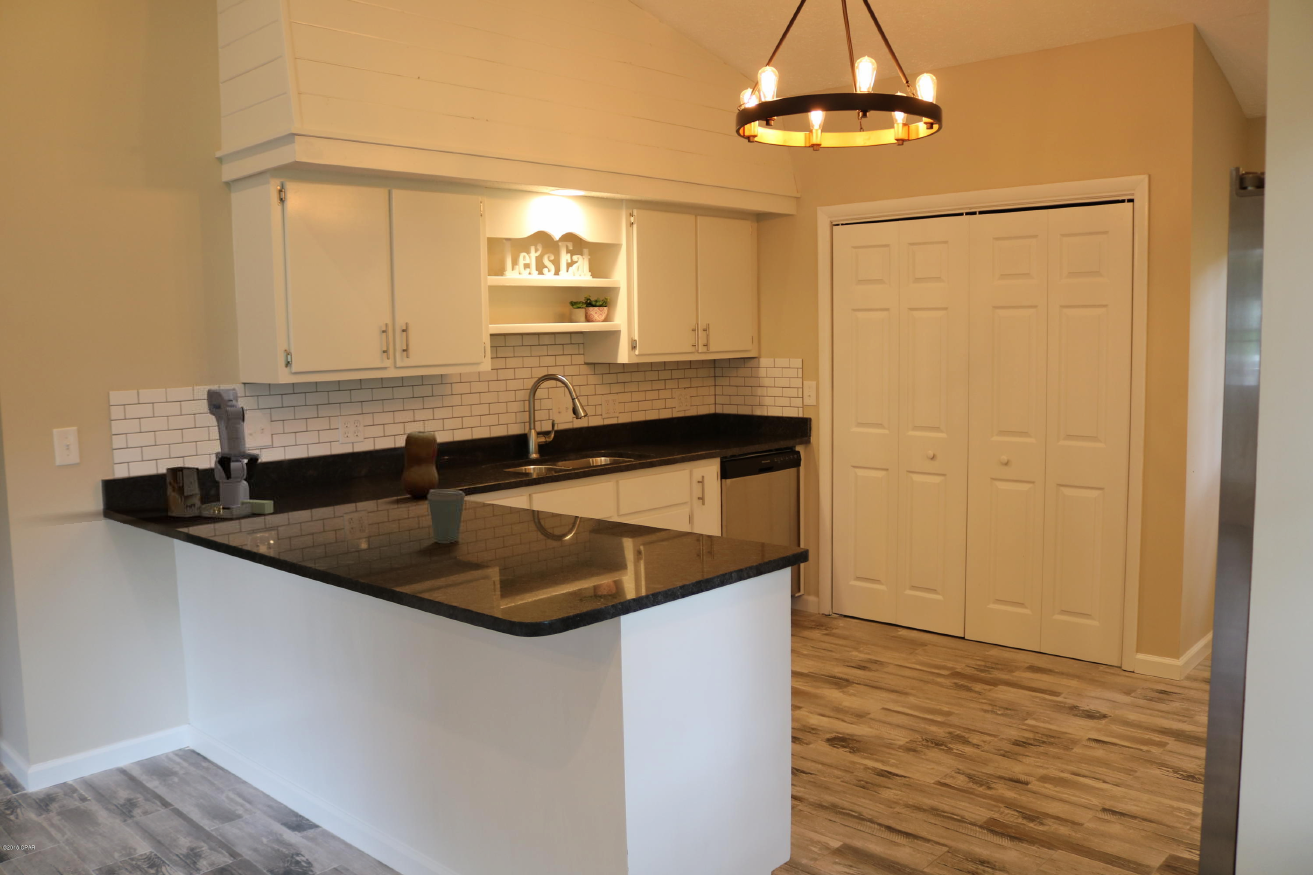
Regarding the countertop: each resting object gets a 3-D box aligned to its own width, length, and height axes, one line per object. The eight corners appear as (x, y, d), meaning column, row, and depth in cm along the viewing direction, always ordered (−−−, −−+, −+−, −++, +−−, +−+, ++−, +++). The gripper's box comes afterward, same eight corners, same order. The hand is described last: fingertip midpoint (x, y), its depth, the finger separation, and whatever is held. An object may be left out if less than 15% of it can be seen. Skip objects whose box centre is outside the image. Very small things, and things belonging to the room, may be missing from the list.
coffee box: (202, 515, 337) (200, 467, 335) (185, 517, 331) (183, 469, 330) (183, 513, 341) (182, 465, 340) (166, 515, 335) (165, 467, 334)
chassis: (199, 516, 334) (198, 505, 334) (219, 512, 343) (218, 501, 342) (233, 518, 330) (232, 507, 329) (252, 514, 338) (252, 503, 338)
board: (241, 512, 343) (240, 501, 342) (249, 511, 346) (249, 499, 346) (265, 514, 339) (264, 502, 339) (273, 512, 343) (273, 501, 343)
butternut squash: (433, 500, 371) (432, 432, 369) (397, 500, 371) (396, 432, 369) (442, 494, 385) (441, 429, 383) (407, 494, 385) (406, 429, 383)
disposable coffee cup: (449, 536, 296) (449, 486, 294) (474, 541, 289) (473, 489, 287) (420, 542, 287) (419, 489, 286) (444, 546, 281) (443, 493, 279)
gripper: (220, 436, 333) (224, 475, 330) (262, 438, 344) (266, 476, 341) (211, 442, 338) (214, 481, 334) (252, 445, 348) (256, 482, 345)
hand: (240, 479), depth 338 cm, fingers open, 7 cm apart
